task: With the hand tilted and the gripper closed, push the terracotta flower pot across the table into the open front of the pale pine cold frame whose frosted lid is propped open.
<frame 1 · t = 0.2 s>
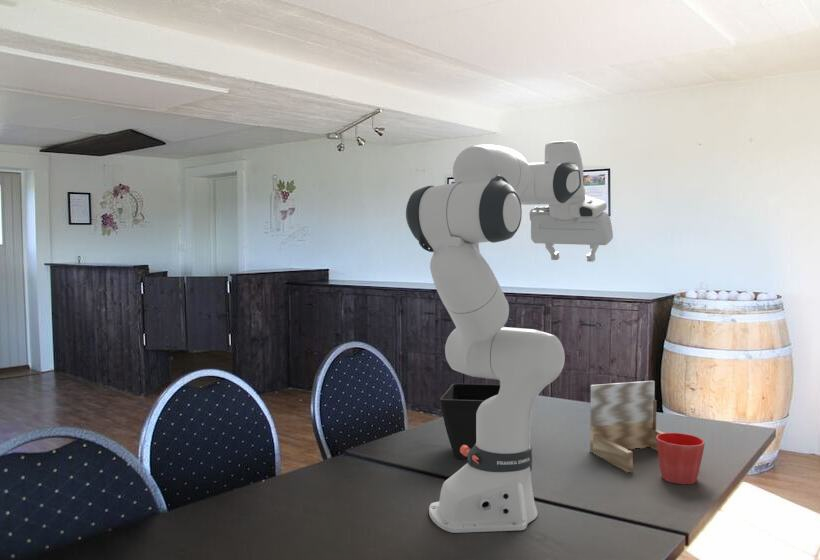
hand: (573, 260, 171), 52 cm above the table, tool tilted 20°, fingers open, 8 cm apart
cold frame: (642, 459, 177), on the table
flower pot: (679, 479, 163), on the table
flower pot 2: (481, 454, 183), on the table
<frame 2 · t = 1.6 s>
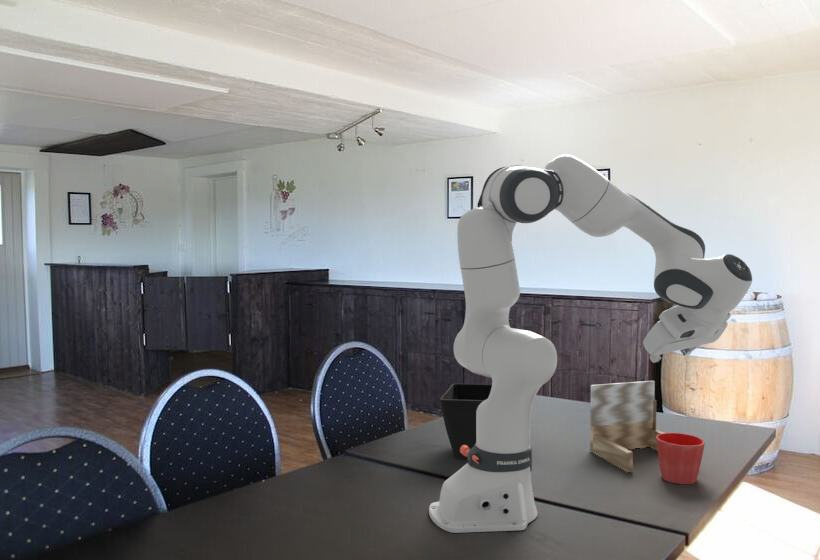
hand: (669, 356, 158), 30 cm above the table, tool tilted 45°, fingers open, 8 cm apart
nothing on the table moved.
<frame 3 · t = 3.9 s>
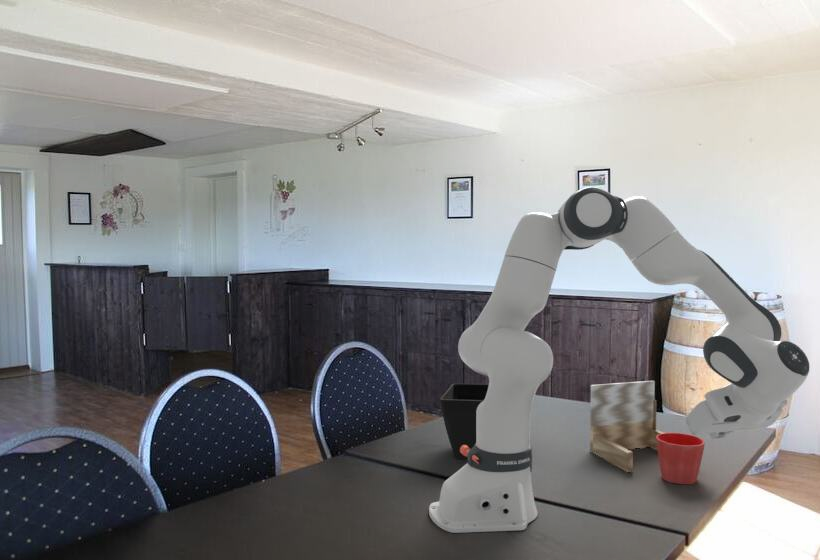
hand: (715, 435, 150), 14 cm above the table, tool tilted 45°, fingers closed
nothing on the table moved.
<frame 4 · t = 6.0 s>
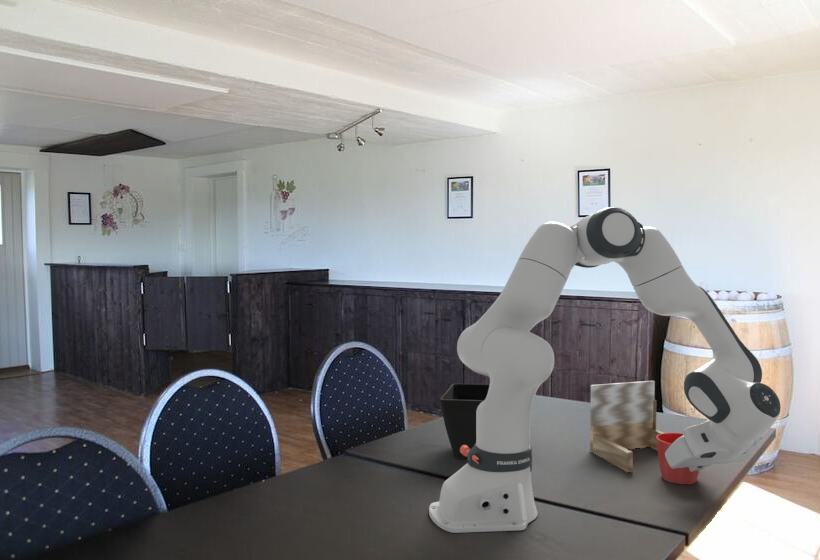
hand: (694, 468, 157), 4 cm above the table, tool tilted 45°, fingers closed
flower pot: (679, 479, 163), on the table, touching gripper
everything else where it was.
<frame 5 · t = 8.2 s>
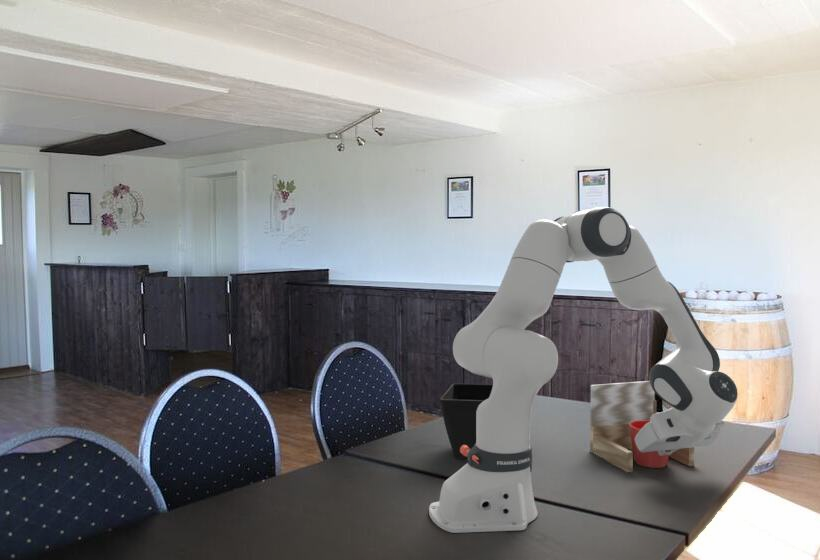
hand: (663, 452, 169), 4 cm above the table, tool tilted 45°, fingers closed, pressing on flower pot
flower pot: (650, 463, 174), on the table, touching gripper
everything else where it was.
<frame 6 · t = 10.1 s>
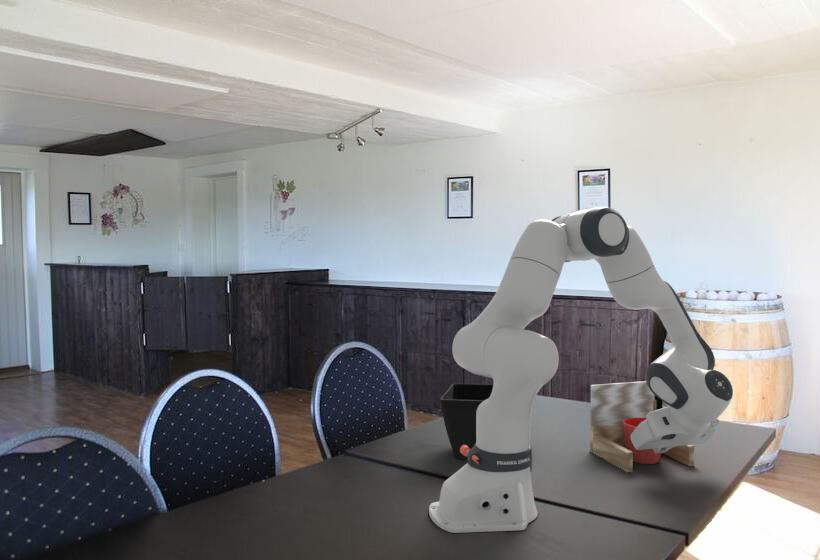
hand: (658, 450, 170), 4 cm above the table, tool tilted 45°, fingers closed
flower pot: (643, 460, 177), on the table
everything else where it was.
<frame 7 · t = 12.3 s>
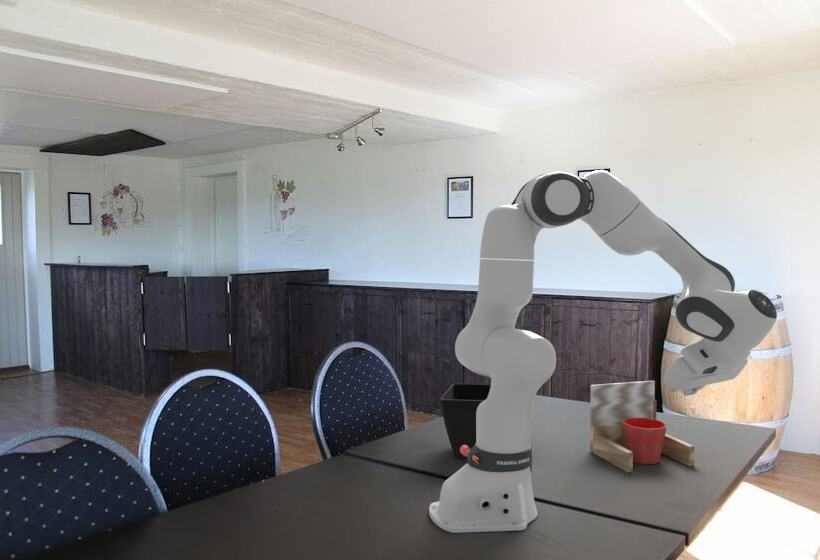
hand: (687, 392, 156), 22 cm above the table, tool tilted 40°, fingers closed
nothing on the table moved.
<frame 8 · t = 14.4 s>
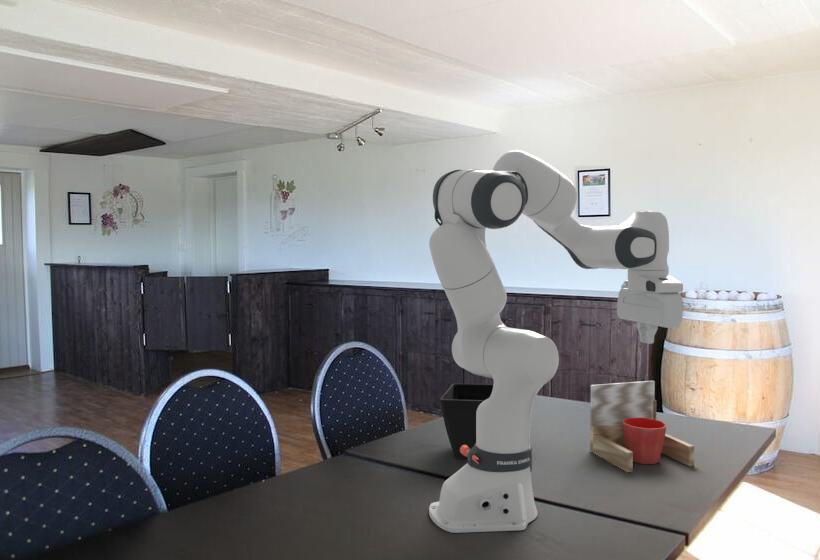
hand: (646, 342, 157), 33 cm above the table, tool pointing down, fingers closed
nothing on the table moved.
at the end: flower pot inside the target area on the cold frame (0.9 cm from its centre), point 0.0 cm above the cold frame's base; flower pot tilted 0° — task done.
